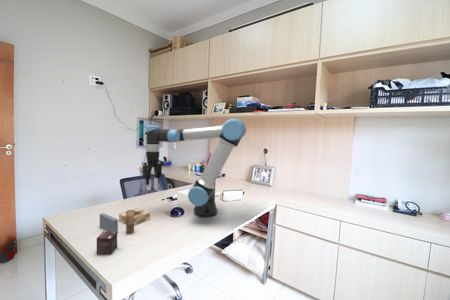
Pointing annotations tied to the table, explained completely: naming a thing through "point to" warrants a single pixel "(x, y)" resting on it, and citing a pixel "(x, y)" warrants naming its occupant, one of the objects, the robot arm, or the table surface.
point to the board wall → (108, 223)
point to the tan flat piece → (136, 216)
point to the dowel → (130, 222)
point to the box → (106, 243)
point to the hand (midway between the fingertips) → (152, 189)
